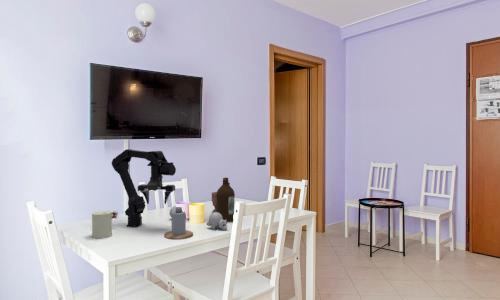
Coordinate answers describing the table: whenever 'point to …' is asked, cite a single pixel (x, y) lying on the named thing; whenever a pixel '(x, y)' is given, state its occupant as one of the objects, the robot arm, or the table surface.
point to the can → (101, 224)
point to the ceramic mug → (172, 210)
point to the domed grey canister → (178, 222)
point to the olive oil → (225, 201)
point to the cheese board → (170, 236)
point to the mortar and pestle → (215, 200)
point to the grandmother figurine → (114, 213)
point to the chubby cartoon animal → (217, 221)
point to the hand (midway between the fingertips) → (156, 204)
